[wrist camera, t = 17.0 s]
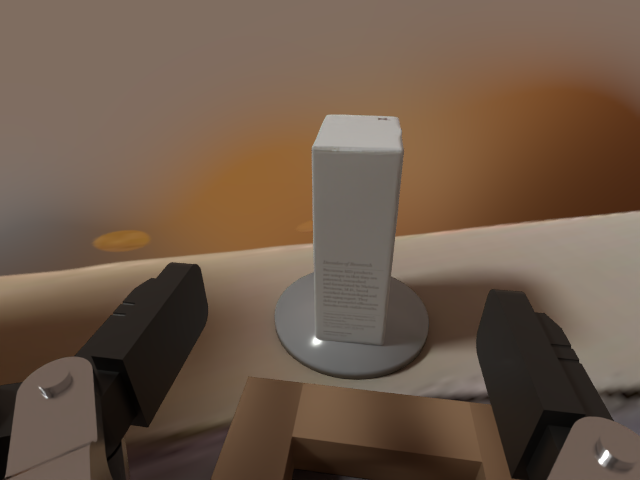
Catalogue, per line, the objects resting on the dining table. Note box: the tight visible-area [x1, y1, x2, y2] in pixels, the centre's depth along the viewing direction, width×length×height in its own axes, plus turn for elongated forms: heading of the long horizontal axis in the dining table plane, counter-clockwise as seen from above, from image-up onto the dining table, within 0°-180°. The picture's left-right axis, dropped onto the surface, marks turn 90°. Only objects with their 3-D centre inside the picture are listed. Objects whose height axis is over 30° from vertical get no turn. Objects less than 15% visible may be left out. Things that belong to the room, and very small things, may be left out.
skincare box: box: [312, 115, 404, 345], centre depth 22 cm, size 6×4×12 cm
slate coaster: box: [275, 272, 429, 379], centre depth 26 cm, size 10×10×1 cm
